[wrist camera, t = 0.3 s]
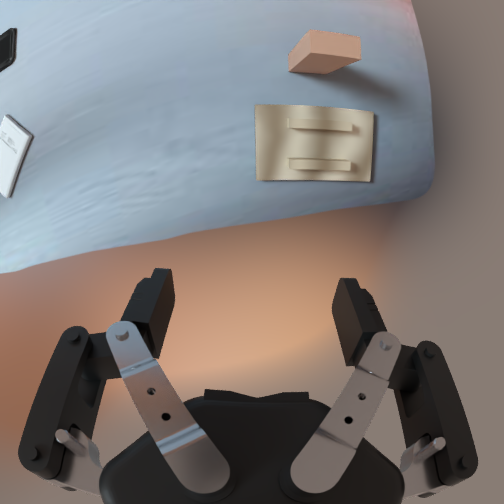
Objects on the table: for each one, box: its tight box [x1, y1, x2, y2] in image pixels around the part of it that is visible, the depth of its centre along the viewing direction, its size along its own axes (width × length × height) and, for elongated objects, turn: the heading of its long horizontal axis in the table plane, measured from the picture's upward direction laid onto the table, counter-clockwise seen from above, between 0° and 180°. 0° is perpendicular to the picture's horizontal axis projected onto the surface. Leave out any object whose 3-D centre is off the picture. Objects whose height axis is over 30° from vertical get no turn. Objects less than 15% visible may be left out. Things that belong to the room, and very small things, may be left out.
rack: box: [255, 105, 374, 182], centre depth 34 cm, size 16×10×3 cm, turn 91°
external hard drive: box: [0, 115, 32, 198], centre depth 32 cm, size 2×8×12 cm
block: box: [288, 30, 361, 74], centre depth 26 cm, size 5×2×12 cm, turn 91°
